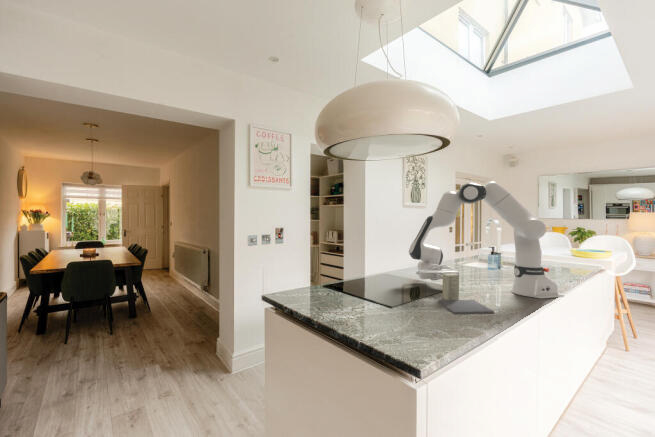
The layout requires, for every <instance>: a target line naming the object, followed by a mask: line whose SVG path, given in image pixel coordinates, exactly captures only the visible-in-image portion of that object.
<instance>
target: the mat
mask: <svg viewBox="0 0 655 437" xmlns="http://www.w3.org/2000/svg"><path fill="white" fill-rule="evenodd" d="M437 303H439V304H440V305H441V306H442V307H444V308H445V309H446V310H448V311H449V312H450V313H451V314H454V315H467V314H470V315H471V314H475V315H476V314H478V315H479V314H495V311H494V310H492V309H491V308H489V307H487V306H485V305H484V304H482V303H479V301H476V300H474V299H459V300H445V299H443V300H441V299H440V300H439V299H438V300H437Z"/></svg>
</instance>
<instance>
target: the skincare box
mask: <svg viewBox="0 0 655 437" xmlns="http://www.w3.org/2000/svg"><path fill="white" fill-rule="evenodd" d="M442 299H443V300H460V274H459V275H458V274H455V273H447V274H443V279H442Z"/></svg>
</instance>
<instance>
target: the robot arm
mask: <svg viewBox="0 0 655 437" xmlns="http://www.w3.org/2000/svg"><path fill="white" fill-rule="evenodd" d="M481 200H482V201H484V202H485V203H487V205H488V206H490V207H491V209H493V210H494V211H495V213H496V214H498V216H500V218H501V219H503V221H504V222H506V223H507V224H509V226H511V228H513V237H514V238H513V239H514V248H515V262H514V263H515V264H514V265H513V272H514V278H513V284H512V286H511V287H512V288H511V290H510V292H511V293H512V294H515V295H519V296H524V297H529V298H536V299H551V298H563V297H564V296H565V294H563V293H562V292H560V291H559V288H558V285H557V283H556V281H554V280H553V279H552V278H550V277H549V276H547V275H546V273H549V272H550V269H549V267H548V268H547V267H543V266H542V249H541V244H540V239H541V238H542V237H544V236H545V235H546V232H547V226H546V224H545V223H544V221H542V220H541V219H540V217H538V216H537V215H535V214H534V213H533V212H532V211H531V210H529V209H528V208H527V207H525V206H524V205H523V204H522V203H521V202H519V200H517V198H516V197H515V196H513V194H512V193H511V192H509V190H507V189H506V188H505V187H504V186H502V185H501V184H499V183H498V182H496V181H489V182H487V183H484V184H478V183H475V182H468V183H465V184H464V185H462V186H461V187H460V189H459V190H458V191H453V190H450V191H445V192H444V193H443V195H442V196H441V198H440V200H439V202H438V204H437V208H436V210H435V212H434V213H433V214H432V215H429V216H428V217H427V218H425V221H424V222H423V224H422V226H421V227H420V230H419V232H418V233H417V235H416V237H415V238H414V240H413V242H412V243H411V244H410V246H409V248H408V249H409V250H408V254H409V256H410V258H412V259H413V260H418V263H417V270H418V271H415V274H416V275H418V277H419V279H422V280H427V279H428V280H431V281H435V282H436V281H438V280H443V274H447V273H455V274H458V275H459V276H460V272H459V271H458V270H457V269H455V268H453V267H451V266H449V265H441V264H442V262H443V258H444V254H443V251H442V249H441V248H440V247H439V246H435V245H430V244H427V243H424V242H425V240H426V239H427V237H428V235H429V233H430V232H431V231H432V230H434V229H436V228H444V227H449V226H450V225H452V224H453V223H454V222H455V220H457V219H456V218H457V215H458V213H459V210H460V208H461V206H462V205H464V204H467V205H470V204H471V205H473V204H476V203H477V202H479V201H481ZM564 298H565V297H564Z"/></svg>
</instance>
